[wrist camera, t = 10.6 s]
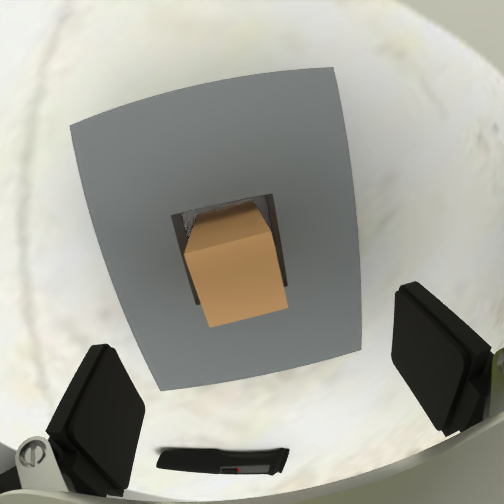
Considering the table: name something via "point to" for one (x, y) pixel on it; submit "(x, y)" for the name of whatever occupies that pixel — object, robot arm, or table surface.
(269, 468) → the electric trimmer
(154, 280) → the socket board
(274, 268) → the peg
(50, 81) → the table surface
